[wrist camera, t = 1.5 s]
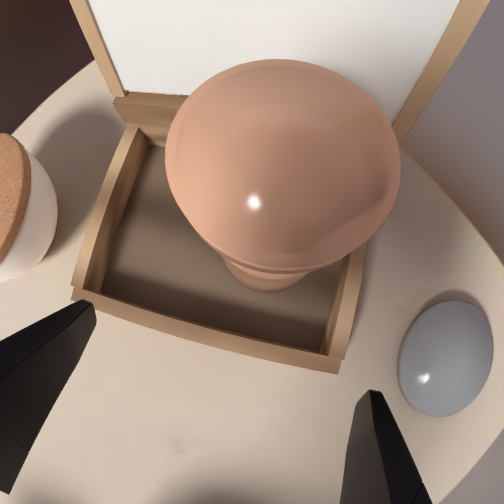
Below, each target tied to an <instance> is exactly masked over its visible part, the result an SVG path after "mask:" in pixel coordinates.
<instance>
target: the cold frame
mask: <svg viewBox="0 0 504 504" xmlns="http://www.w3.org/2000/svg"><path fill="white" fill-rule="evenodd" d="M187 98H188V97H184V96H175V95H165V94H153V93H139V92H128V93H127V95H126V96H125V97H115V99H114V101H113V104H114V106H115V108H116V109H117V111H118V112H119V114H120V115H121V117H122V119H123V120H124V122H125V123H126V125H127V127H126V129H125V131H124V133H123V136H122V138H121V140H120V142H119V145H118V147H117V149H116V152H115V154H114V156H113V159H112V161H111V163H110V166H109V168H108V171H107V173H106V176H105V179H104V181H103V184H102V186H101V189H100V192H99V194H98V197H97V200H96V203H95V206H94V208H93V211H92V214H91V217H90V220H89V223H88V226H87V229H86V232H85V236H84V239H83V242H82V245H81V249H80V252H79V256H78V259H77V263H76V266H75V270H74V274H73V277H72V281H71V285H72V286H74V289H73V293H72V297H71V300H72V301H75V302H77V301H79V300H81V299H84V300H87V301H89V302H91V303H93V305H94V309H96V310H99V311H102V312H104V313H107V314H110V315H113V316H116V317H118V318H121V319H124V320H127V321H130V322H133V323H136V324H139V325H142V326H145V327H148V328H151V329H155V330H158V331H161V332H164V333H167V334H171V335H174V336H177V337H181V338H184V339H188V340H191V341H195V342H198V343H202V344H205V345H209V346H213V347H216V348H220V349H224V350H228V351H232V352H236V353H240V354H244V355H248V356H252V357H256V358H260V359H265V360H269V361H273V362H278V363H282V364H287V365H292V366H297V367H302V368H307V369H312V370H317V371H322V372H328V373H333V374H338V372H339V368H340V364H341V360H344V358H345V354H346V350H347V346H348V341H349V337H350V333H351V329H352V324H353V320H354V315H355V310H356V306H357V301H358V296H359V291H360V286H361V280H362V275H363V269H364V264H365V258H366V252H367V246H368V240H366V241H365V242H364V243H363V244H361V245H360V246H359V247H357V248H356V249H354V250H353V251H352V252H350V253H349V254H347V255H346V256H344V257H343V258H341V259H339V260H338V261H336V262H334V263H332V264H330V265H328V266H325V267H323V268H320V269H318V270H314V271H311V272H310V273H308V274H307V275H306V276H305V277H303V278H302V279H301V280H300V281H298V282H297V283H296V284H295V285H293V286H292V287H290V288H288V289H286V290H283V291H280V292H276V293H261V292H256V291H253V290H251V289H248V288H246V287H245V286H243V285H242V284H240V283H239V282H238V281H237V280H236V279H235V278H234V277H233V275H232V274H231V272H230V271H229V269H228V268H227V266H226V264H225V262H224V261H223V259H222V257H221V256H220V254H219V253H217V252H216V251H215V250H214V249H212V248H211V247H210V246H209V245H208V244H207V243H206V242H205V241H204V240H203V239H202V238H201V237H200V236H199V235H198V233H197V232H196V231H195V229H194V228H193V226H192V225H191V224H190V222H189V221H188V219H187V218H186V216H185V215H184V213H183V212H182V210H181V209H180V207H179V206H178V204H177V202H176V200H175V198H174V196H173V194H172V191H171V189H170V186H169V182H168V179H167V174H166V166H165V147H166V142H167V136H168V133H169V130H170V127H171V124H172V122H173V120H174V118H175V116H176V114H177V112H178V110H179V109H180V107H181V106H182V104H183V103H184V102H185V100H186V99H187Z"/></svg>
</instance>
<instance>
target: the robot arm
mask: <svg viewBox="0 0 504 504" xmlns="http://www.w3.org/2000/svg"><path fill="white" fill-rule="evenodd" d="M96 321H97V320H96V314H95V309H94V305H93V303H91V302H89V301H87V300H84V299H81V300H79V301H77V302H75V303H73V304H71V305H69V306H67V307H65V308H63V309H61V310H59V311H57V312H55V313H53V314H51V315H49V316H47V317H45V318H43V319H41V320H39V321H37V322H35V323H34V324H32V325H30V326H28V327H26V328H24V329H22V330H20V331H18V332H16V333H14V334H13V335H11V336H9V337H7V338H5V339H3V340H1V341H0V491H2V492H4V493H6V494H8V495H9V494H10V492H11V490H12V487H13V485H14V483H15V481H16V479H17V476H18V474H19V472H20V470H21V468H22V466H23V464H24V462H25V460H26V458H27V456H28V452H29V451H30V449H31V447H32V445H33V443H34V441H35V439H36V437H37V435H38V433H39V432H40V430H41V428H42V426H43V424H44V422H45V420H46V418H47V417H48V415H49V413H50V411H51V409H52V407H53V406H54V404H55V402H56V400H57V398H58V397H59V395H60V393H61V391H62V390H63V388H64V386H65V384H66V383H67V381H68V379H69V377H70V376H71V374H72V372H73V371H74V369H75V367H76V366H77V364H78V362H79V360H80V358H81V356H82V354H83V351H84V349H85V347H86V345H87V343H88V341H89V338H90V336H91V334H92V332H93V330H94V328H95V326H96ZM340 504H432V501H431V499H430V497H429V495H428V493H427V490H426V488H425V486H424V483H422V479H421V476H420V474H419V472H418V470H417V467H416V465H415V463H414V461H413V458H412V456H411V454H410V452H409V449H408V447H407V445H406V443H405V441H404V438H403V436H402V434H401V432H400V430H399V428H398V425H397V423H396V421H395V419H394V417H393V415H392V413H391V411H390V408H389V406H388V404H387V402H386V400H385V398H384V396H383V394H382V393H381V392H380V391H376V390H368V391H367V392H366V393H365V394H364V395H363V396H362V398H361V399H360V400H359V401H358V402H357V404H356V407H355V411H354V416H353V422H352V426H351V431H350V436H349V441H348V446H347V451H346V460H345V469H344V477H343V484H342V492H341V499H340Z"/></svg>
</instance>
